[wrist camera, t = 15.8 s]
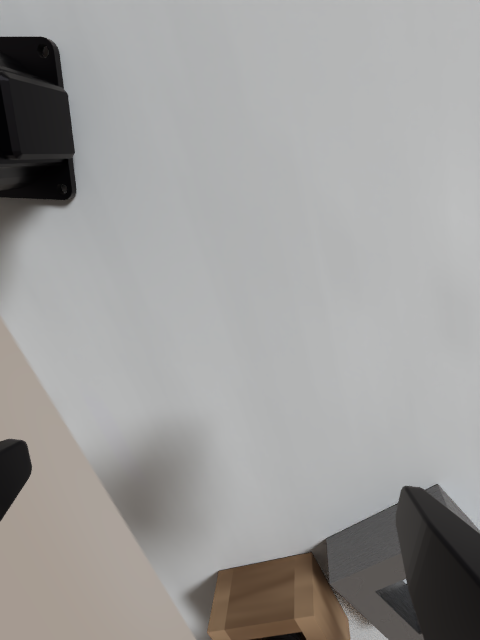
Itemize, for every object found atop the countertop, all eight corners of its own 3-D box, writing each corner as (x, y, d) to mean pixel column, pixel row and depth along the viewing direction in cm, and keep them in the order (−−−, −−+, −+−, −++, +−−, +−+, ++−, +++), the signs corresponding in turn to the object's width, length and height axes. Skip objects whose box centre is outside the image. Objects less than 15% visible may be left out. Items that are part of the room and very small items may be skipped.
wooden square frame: (218, 571, 29) (207, 632, 25) (311, 552, 27) (313, 615, 23) (259, 632, 31) (253, 697, 27) (348, 619, 29) (355, 687, 25)
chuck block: (326, 538, 26) (329, 584, 23) (437, 484, 23) (456, 528, 20) (399, 609, 28) (410, 659, 25) (511, 566, 25) (537, 617, 22)
